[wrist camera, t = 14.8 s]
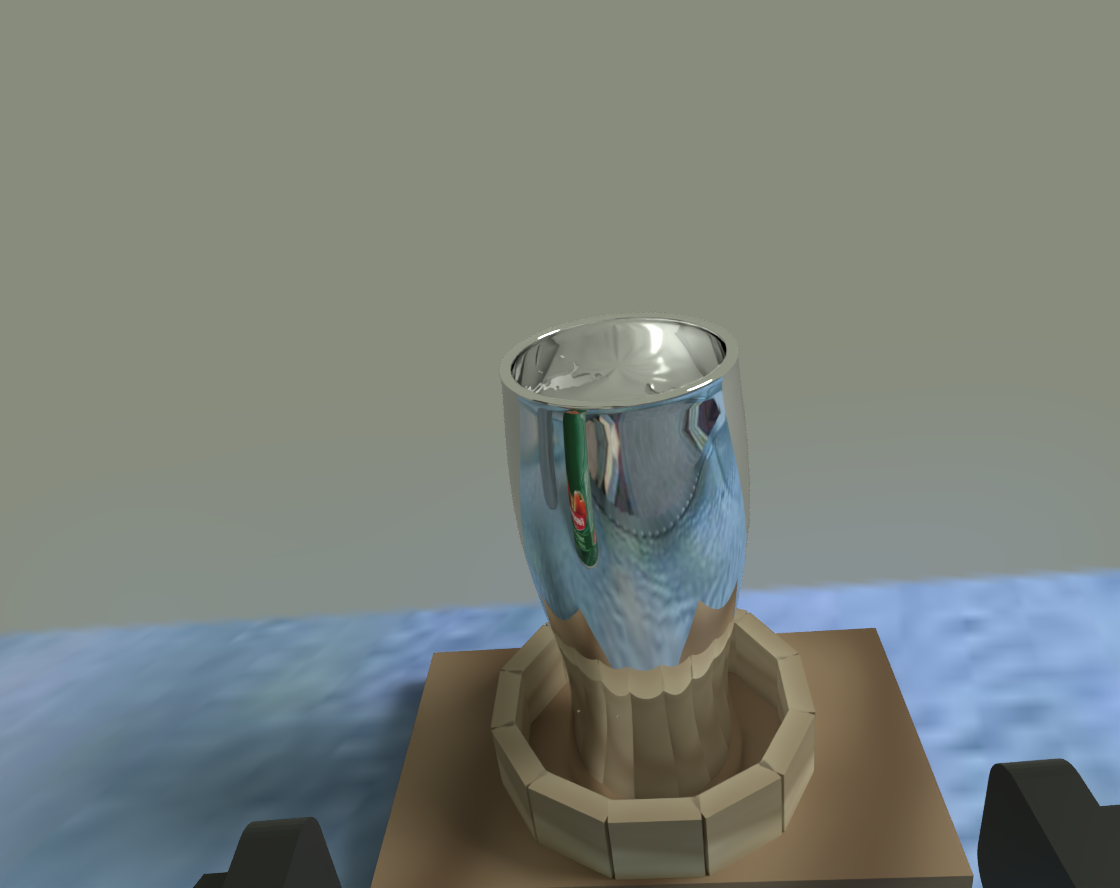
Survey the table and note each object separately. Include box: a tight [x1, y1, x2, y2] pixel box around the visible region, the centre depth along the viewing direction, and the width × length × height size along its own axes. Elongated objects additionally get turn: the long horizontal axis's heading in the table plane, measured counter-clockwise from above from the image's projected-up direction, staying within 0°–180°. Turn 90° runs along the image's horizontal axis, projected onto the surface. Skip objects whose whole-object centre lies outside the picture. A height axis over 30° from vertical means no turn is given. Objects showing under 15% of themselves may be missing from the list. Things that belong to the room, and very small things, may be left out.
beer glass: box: [499, 312, 750, 800], centre depth 28 cm, size 7×7×15 cm
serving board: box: [370, 608, 974, 888], centre depth 31 cm, size 18×11×4 cm, turn 87°
